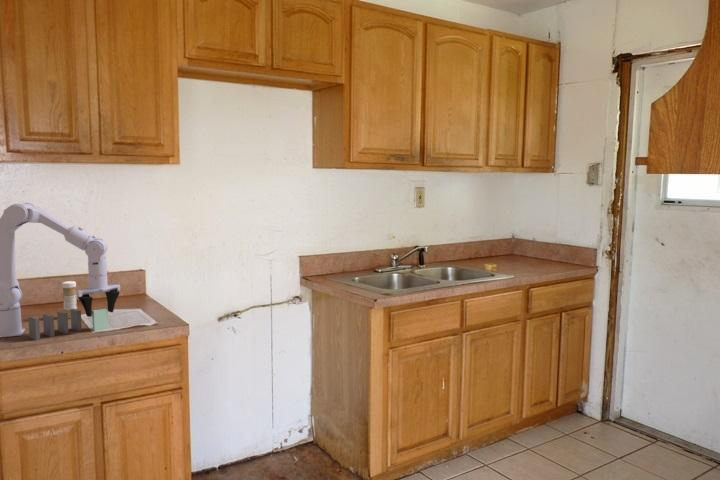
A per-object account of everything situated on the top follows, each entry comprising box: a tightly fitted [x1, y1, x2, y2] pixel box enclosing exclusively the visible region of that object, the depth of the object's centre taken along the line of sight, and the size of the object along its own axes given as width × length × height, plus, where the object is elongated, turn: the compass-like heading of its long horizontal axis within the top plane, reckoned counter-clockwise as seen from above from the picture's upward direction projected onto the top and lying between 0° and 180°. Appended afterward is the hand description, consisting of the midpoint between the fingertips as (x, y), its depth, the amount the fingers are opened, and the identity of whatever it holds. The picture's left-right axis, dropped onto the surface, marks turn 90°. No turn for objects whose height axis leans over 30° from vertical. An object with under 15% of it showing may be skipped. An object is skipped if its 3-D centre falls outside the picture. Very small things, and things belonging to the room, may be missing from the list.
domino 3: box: [56, 310, 69, 335], centre depth 187 cm, size 1×5×7 cm, turn 54°
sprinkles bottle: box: [61, 280, 78, 319], centre depth 208 cm, size 5×5×14 cm
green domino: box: [91, 307, 109, 332], centre depth 191 cm, size 1×5×7 cm, turn 144°
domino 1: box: [27, 315, 41, 341], centre depth 180 cm, size 1×5×7 cm, turn 53°
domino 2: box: [42, 313, 56, 338], centre depth 184 cm, size 1×5×7 cm, turn 54°
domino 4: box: [70, 308, 83, 332], centre depth 191 cm, size 1×5×7 cm, turn 53°
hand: (100, 314), depth 191 cm, fingers open, 7 cm apart
